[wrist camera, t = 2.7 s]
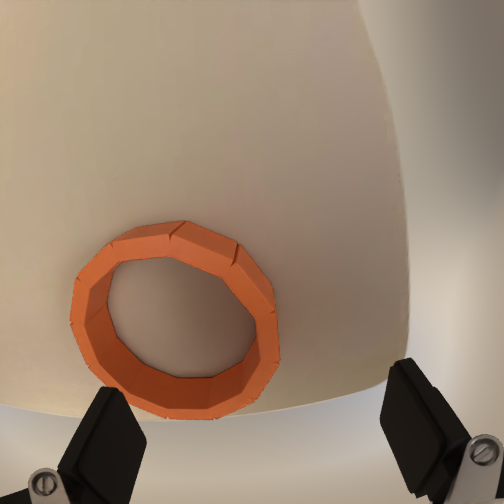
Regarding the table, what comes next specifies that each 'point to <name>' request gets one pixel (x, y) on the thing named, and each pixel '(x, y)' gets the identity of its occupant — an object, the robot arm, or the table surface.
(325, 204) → the table surface
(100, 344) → the ring
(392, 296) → the table surface
